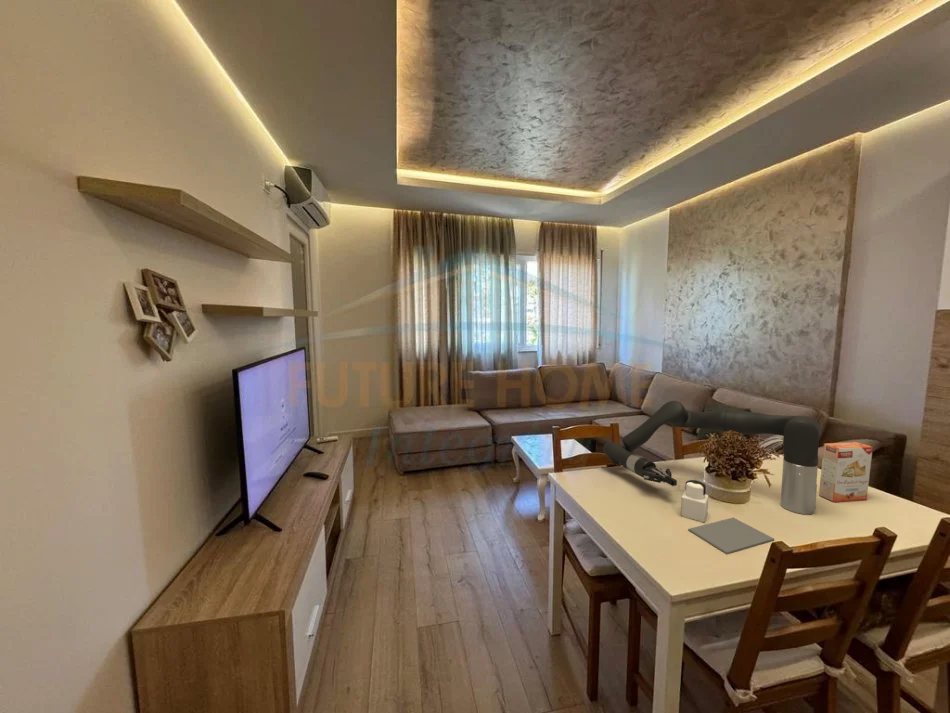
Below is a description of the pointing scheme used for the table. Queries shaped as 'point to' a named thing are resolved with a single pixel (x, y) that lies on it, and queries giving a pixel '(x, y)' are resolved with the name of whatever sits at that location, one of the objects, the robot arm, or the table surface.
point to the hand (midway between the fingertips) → (675, 483)
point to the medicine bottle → (695, 501)
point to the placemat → (730, 535)
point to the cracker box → (845, 471)
